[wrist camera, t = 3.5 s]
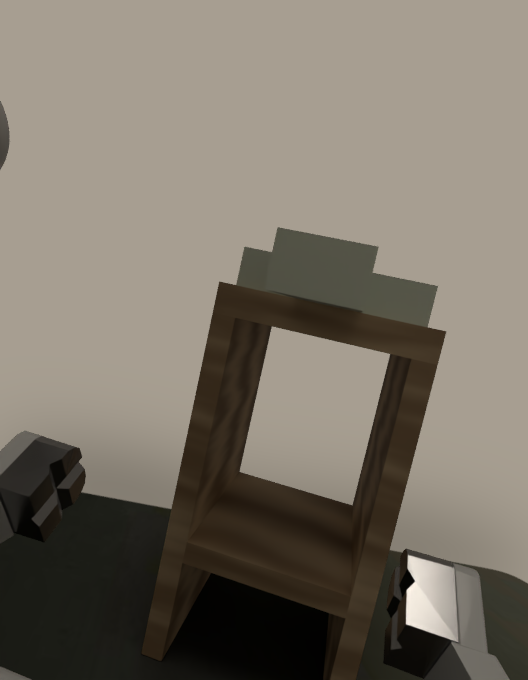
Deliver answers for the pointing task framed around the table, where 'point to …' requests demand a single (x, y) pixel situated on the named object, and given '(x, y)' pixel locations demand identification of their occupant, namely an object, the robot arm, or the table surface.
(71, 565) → the table surface
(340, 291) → the grey paddle board
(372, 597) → the rack
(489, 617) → the table surface
